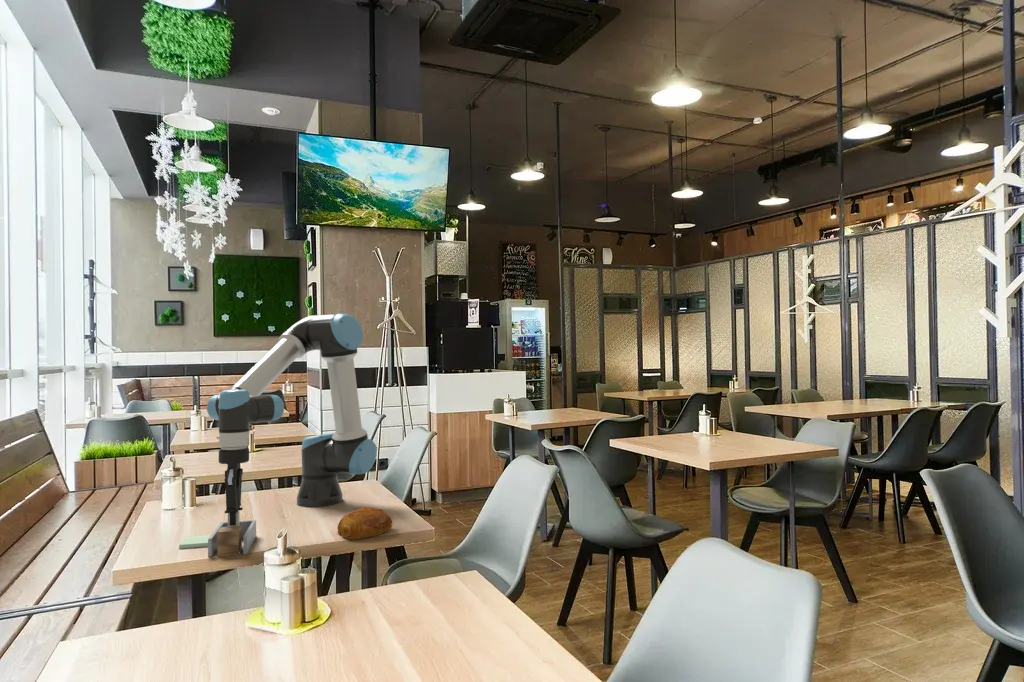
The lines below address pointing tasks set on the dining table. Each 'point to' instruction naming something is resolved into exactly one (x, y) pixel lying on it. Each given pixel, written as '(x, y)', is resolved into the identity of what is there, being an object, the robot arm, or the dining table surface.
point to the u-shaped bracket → (247, 534)
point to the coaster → (194, 542)
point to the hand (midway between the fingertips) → (233, 536)
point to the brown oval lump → (364, 523)
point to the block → (229, 540)
